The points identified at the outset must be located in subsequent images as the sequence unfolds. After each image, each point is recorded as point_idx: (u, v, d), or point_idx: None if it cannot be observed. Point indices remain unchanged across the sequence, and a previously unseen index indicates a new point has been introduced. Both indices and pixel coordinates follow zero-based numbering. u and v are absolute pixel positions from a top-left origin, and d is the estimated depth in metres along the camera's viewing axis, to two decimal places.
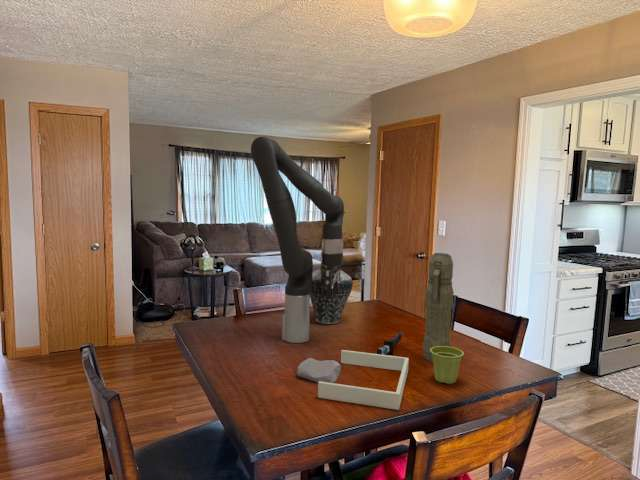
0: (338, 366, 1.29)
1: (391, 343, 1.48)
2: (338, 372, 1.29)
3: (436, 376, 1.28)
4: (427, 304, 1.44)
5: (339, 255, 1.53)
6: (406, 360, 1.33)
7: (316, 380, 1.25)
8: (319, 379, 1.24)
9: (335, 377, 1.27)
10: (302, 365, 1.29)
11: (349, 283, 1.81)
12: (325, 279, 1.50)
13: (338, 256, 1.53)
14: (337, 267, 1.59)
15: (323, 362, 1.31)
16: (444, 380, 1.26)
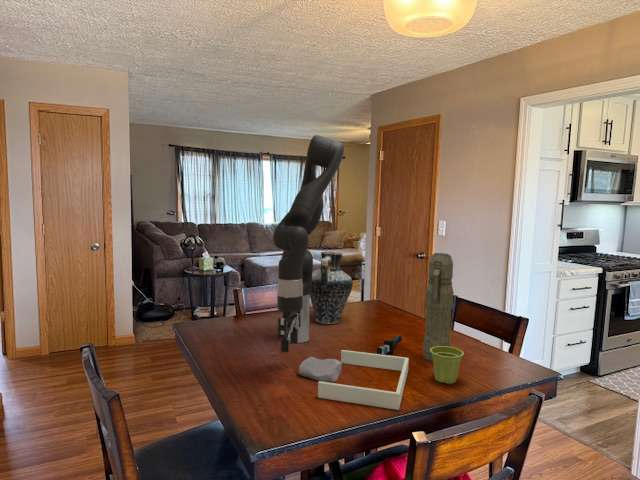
0: (339, 365, 1.30)
1: (391, 343, 1.48)
2: (339, 371, 1.30)
3: (436, 376, 1.28)
4: (427, 304, 1.44)
5: (297, 299, 1.27)
6: (406, 360, 1.33)
7: (318, 379, 1.26)
8: (321, 378, 1.25)
9: (336, 375, 1.28)
10: (303, 364, 1.30)
11: (349, 283, 1.81)
12: (279, 329, 1.24)
13: (296, 300, 1.27)
14: (296, 311, 1.33)
15: (324, 361, 1.32)
16: (444, 380, 1.26)
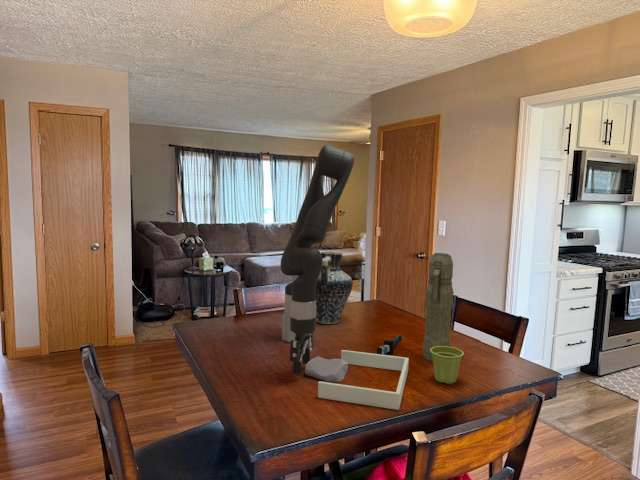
0: (345, 365, 1.30)
1: (391, 343, 1.48)
2: (345, 371, 1.30)
3: (436, 376, 1.28)
4: (427, 304, 1.44)
5: (310, 321, 1.26)
6: (406, 360, 1.33)
7: (323, 378, 1.26)
8: (326, 377, 1.25)
9: (342, 376, 1.28)
10: (310, 363, 1.30)
11: (349, 283, 1.81)
12: (291, 351, 1.23)
13: (309, 322, 1.26)
14: None
15: (330, 361, 1.32)
16: (444, 380, 1.26)
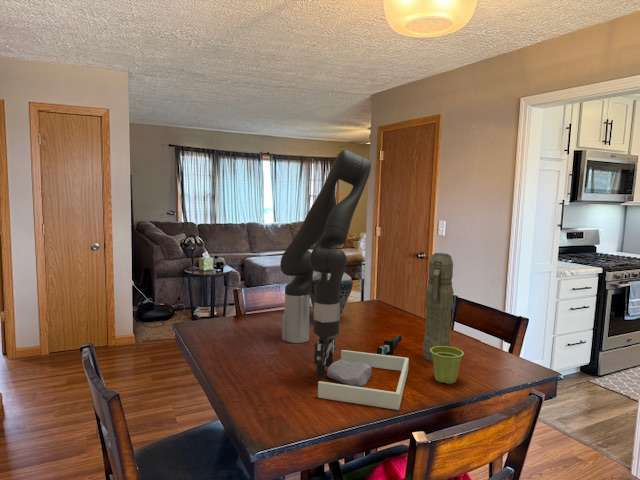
0: (368, 369, 1.28)
1: (391, 343, 1.48)
2: (368, 375, 1.28)
3: (436, 376, 1.28)
4: (427, 304, 1.44)
5: (334, 323, 1.24)
6: (406, 360, 1.33)
7: (345, 382, 1.24)
8: (348, 381, 1.23)
9: (365, 380, 1.25)
10: (332, 366, 1.29)
11: (349, 283, 1.81)
12: (316, 354, 1.21)
13: (333, 324, 1.24)
14: None
15: (354, 364, 1.30)
16: (444, 380, 1.26)
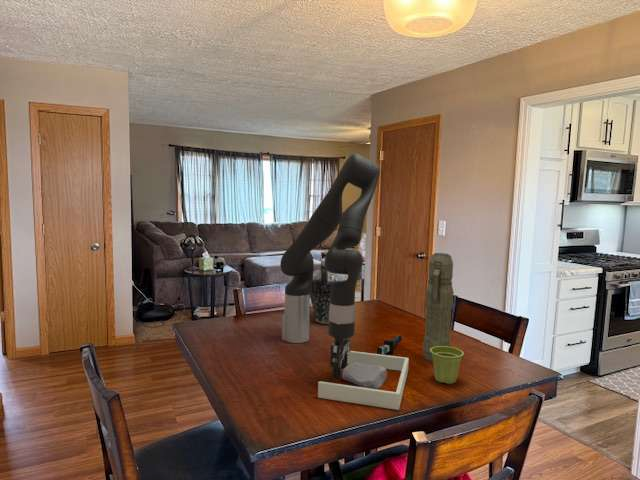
0: (384, 371, 1.26)
1: (391, 343, 1.48)
2: (384, 377, 1.26)
3: (436, 376, 1.28)
4: (427, 304, 1.44)
5: (350, 325, 1.23)
6: (406, 360, 1.33)
7: (361, 384, 1.23)
8: (364, 383, 1.22)
9: (380, 382, 1.24)
10: (347, 368, 1.27)
11: None
12: (332, 356, 1.20)
13: (349, 326, 1.22)
14: None
15: (369, 366, 1.28)
16: (444, 380, 1.26)
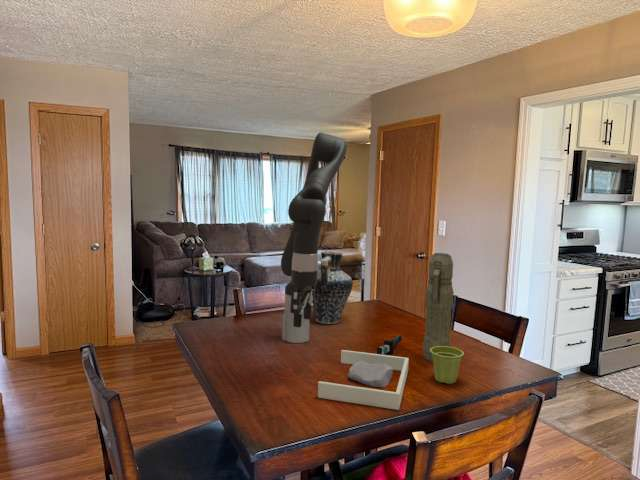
0: (390, 370, 1.27)
1: (391, 343, 1.48)
2: (390, 376, 1.27)
3: (436, 376, 1.28)
4: (427, 304, 1.44)
5: (312, 273, 1.24)
6: (406, 360, 1.33)
7: (367, 383, 1.23)
8: (371, 382, 1.23)
9: (387, 381, 1.25)
10: (353, 367, 1.28)
11: (349, 283, 1.81)
12: (292, 303, 1.22)
13: (310, 274, 1.24)
14: (310, 287, 1.30)
15: (375, 365, 1.29)
16: (444, 380, 1.26)
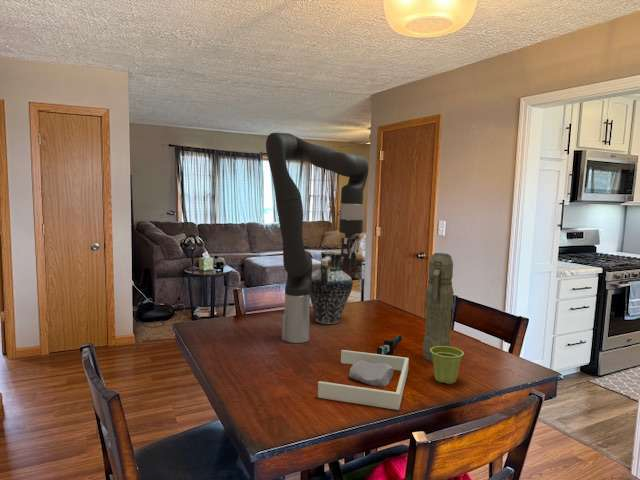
0: (391, 369, 1.28)
1: (391, 343, 1.48)
2: (391, 375, 1.28)
3: (436, 376, 1.28)
4: (427, 304, 1.44)
5: (359, 222, 1.38)
6: (406, 360, 1.33)
7: (368, 383, 1.24)
8: (371, 382, 1.23)
9: (388, 380, 1.25)
10: (354, 367, 1.29)
11: (349, 283, 1.81)
12: (342, 247, 1.35)
13: (358, 222, 1.37)
14: (355, 236, 1.43)
15: (375, 365, 1.30)
16: (444, 380, 1.26)
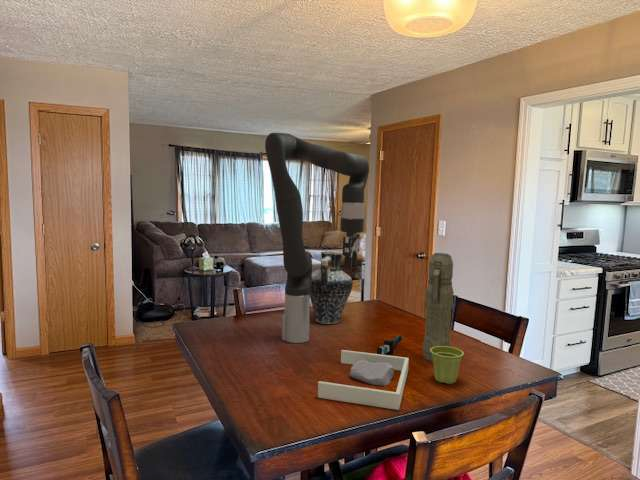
0: (391, 368, 1.28)
1: (391, 343, 1.48)
2: (391, 374, 1.29)
3: (436, 376, 1.28)
4: (427, 304, 1.44)
5: (360, 221, 1.38)
6: (406, 360, 1.33)
7: (369, 382, 1.25)
8: (372, 381, 1.24)
9: (388, 379, 1.26)
10: (355, 366, 1.29)
11: (349, 283, 1.81)
12: (344, 246, 1.35)
13: (359, 221, 1.38)
14: (356, 235, 1.44)
15: (376, 364, 1.30)
16: (444, 380, 1.26)
